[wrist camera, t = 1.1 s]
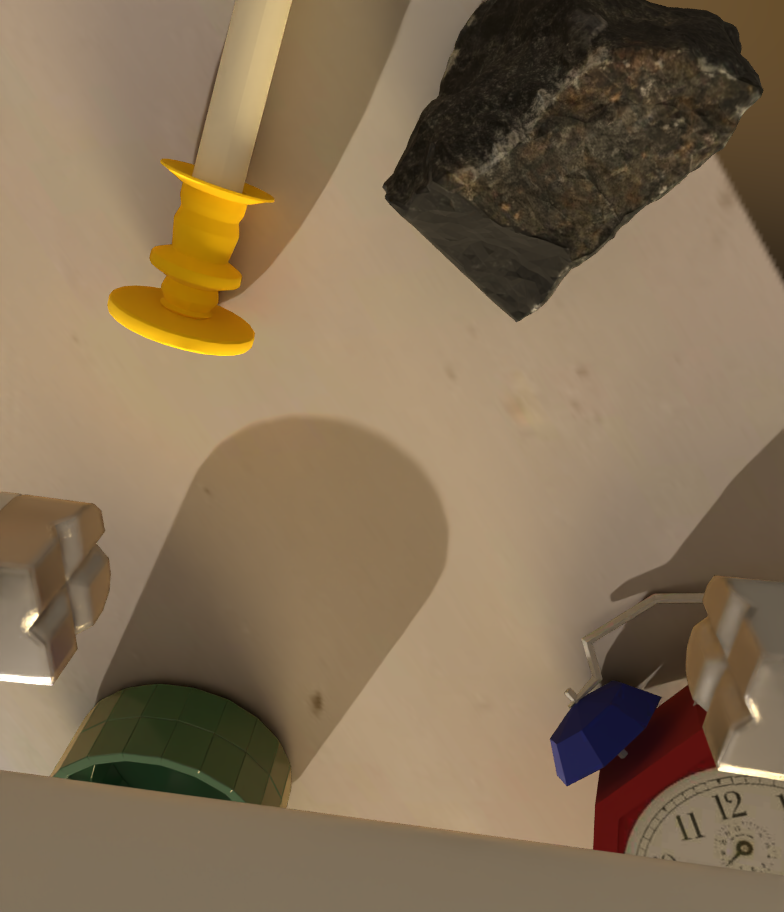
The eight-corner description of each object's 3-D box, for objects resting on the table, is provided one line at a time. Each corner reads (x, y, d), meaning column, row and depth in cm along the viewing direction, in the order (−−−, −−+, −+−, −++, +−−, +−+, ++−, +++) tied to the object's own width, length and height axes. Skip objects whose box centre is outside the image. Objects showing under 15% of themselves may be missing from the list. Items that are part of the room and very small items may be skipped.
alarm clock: (651, 1108, 31) (488, 656, 33) (650, 966, 40) (520, 609, 41) (1060, 1083, 27) (848, 556, 28) (963, 928, 35) (803, 526, 36)
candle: (184, 362, 24) (334, -214, 18) (74, 298, 26) (180, -247, 20) (278, 351, 28) (422, -113, 23) (179, 298, 30) (290, -146, 24)
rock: (540, 284, 29) (755, 50, 23) (543, 382, 23) (828, 105, 18) (375, 159, 27) (566, -131, 21) (334, 233, 21) (580, -134, 16)
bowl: (69, 665, 40) (18, 740, 36) (291, 690, 39) (267, 770, 35) (101, 811, 46) (61, 890, 41) (295, 835, 45) (275, 919, 41)
